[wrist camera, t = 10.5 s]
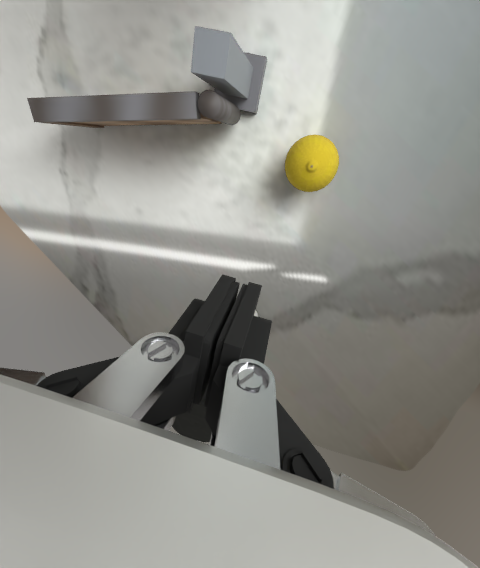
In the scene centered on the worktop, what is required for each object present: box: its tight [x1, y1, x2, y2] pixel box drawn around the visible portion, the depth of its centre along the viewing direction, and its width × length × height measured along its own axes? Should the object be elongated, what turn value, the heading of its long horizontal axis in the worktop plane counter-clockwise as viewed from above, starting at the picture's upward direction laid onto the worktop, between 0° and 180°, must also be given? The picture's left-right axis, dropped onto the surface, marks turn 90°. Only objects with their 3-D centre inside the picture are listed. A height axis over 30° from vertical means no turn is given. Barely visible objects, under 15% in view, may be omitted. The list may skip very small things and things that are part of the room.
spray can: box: [172, 310, 258, 442], centre depth 36 cm, size 7×7×20 cm
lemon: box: [285, 135, 339, 192], centre depth 29 cm, size 6×6×8 cm
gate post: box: [191, 26, 267, 114], centre depth 26 cm, size 5×5×11 cm
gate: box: [27, 90, 241, 128], centre depth 29 cm, size 20×2×9 cm, turn 90°
